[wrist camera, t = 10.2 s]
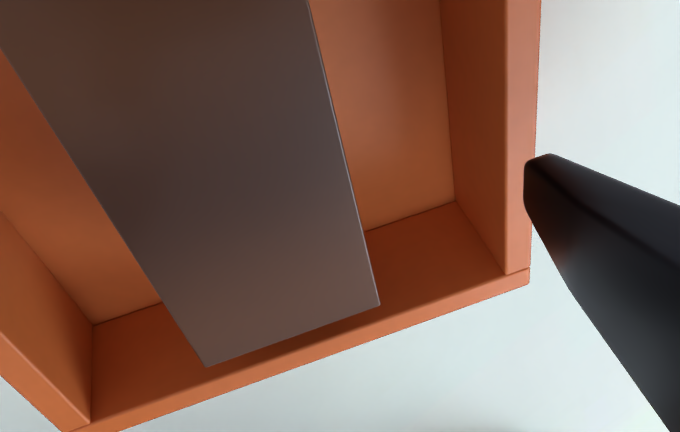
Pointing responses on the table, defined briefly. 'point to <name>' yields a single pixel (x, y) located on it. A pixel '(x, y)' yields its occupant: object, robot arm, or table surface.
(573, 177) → the robot arm
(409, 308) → the tray
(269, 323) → the eraser
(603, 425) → the table surface
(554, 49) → the table surface
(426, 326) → the table surface
